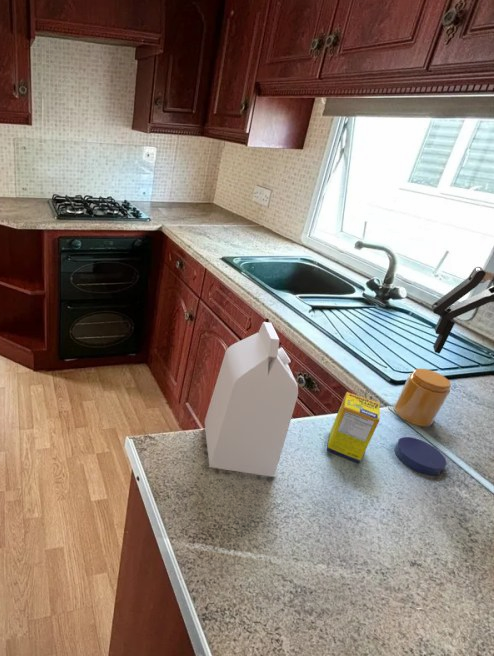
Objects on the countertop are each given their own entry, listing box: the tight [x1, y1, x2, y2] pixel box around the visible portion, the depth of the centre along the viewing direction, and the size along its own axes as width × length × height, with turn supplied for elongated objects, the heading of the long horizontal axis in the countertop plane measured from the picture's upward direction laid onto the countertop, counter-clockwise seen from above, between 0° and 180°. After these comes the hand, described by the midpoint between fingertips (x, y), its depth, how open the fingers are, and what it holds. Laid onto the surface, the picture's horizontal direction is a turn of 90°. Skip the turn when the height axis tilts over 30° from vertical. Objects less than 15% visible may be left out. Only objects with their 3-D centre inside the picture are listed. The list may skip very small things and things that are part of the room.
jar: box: [393, 368, 451, 427], centre depth 90 cm, size 8×8×10 cm
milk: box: [204, 321, 299, 478], centre depth 72 cm, size 12×12×26 cm
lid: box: [393, 436, 447, 476], centre depth 79 cm, size 8×8×2 cm
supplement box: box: [326, 391, 381, 464], centre depth 78 cm, size 6×6×11 cm
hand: (481, 362), depth 73 cm, fingers open, 13 cm apart
